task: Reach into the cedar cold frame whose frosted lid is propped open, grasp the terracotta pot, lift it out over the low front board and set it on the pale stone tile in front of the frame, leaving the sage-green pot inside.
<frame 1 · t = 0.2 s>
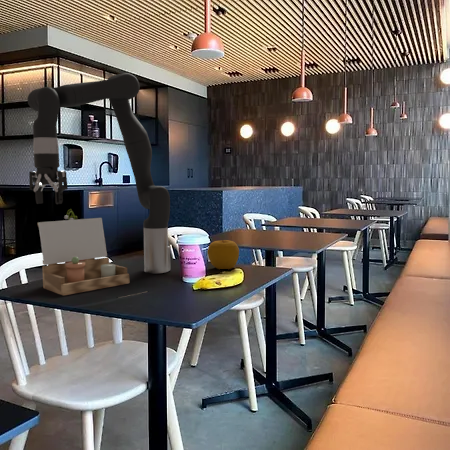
hand: (49, 203, 158), 28 cm above the table, fingers open, 8 cm apart
terracotta pot: (76, 287, 163), point 1 cm above the table, touching cold frame
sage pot: (108, 282, 170), point 1 cm above the table, touching cold frame
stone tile: (123, 292, 159), on the table
cold frame: (87, 287, 165), on the table
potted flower: (75, 274, 189), on the table
apple: (223, 268, 199), on the table
lid: (73, 240, 170), point 15 cm above the table, hinge at 102.3°
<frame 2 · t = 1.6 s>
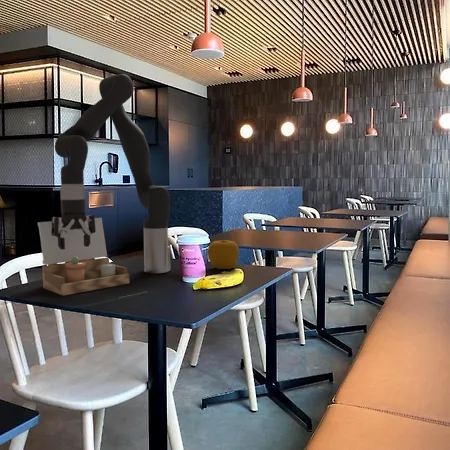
hand: (74, 247, 161), 14 cm above the table, fingers open, 8 cm apart
nothing on the table moved.
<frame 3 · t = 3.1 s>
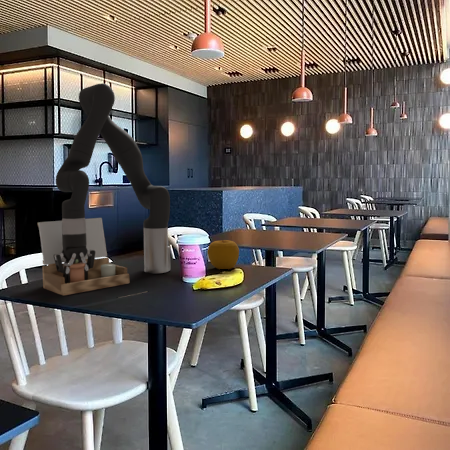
hand: (75, 282, 162), 2 cm above the table, fingers closed on terracotta pot, 5 cm apart
terracotta pot: (76, 287, 163), point 1 cm above the table, touching cold frame, gripper
everything else where it was.
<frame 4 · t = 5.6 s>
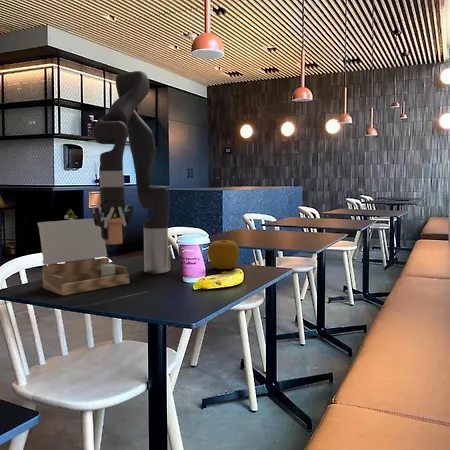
hand: (113, 238, 158), 17 cm above the table, fingers closed on terracotta pot, 5 cm apart
terracotta pot: (113, 243, 158), point 16 cm above the table, touching gripper
everything else where it was.
when the fingers open (4 cm above the table, at t = 8.4 s): terracotta pot drops 1 cm, point 1 cm above the table.
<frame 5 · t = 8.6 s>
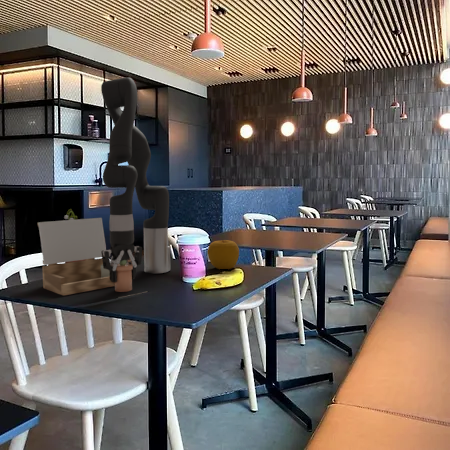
hand: (123, 280, 159), 4 cm above the table, fingers open, 6 cm apart
terracotta pot: (123, 289, 159), point 1 cm above the table, touching gripper
everything else where it was.
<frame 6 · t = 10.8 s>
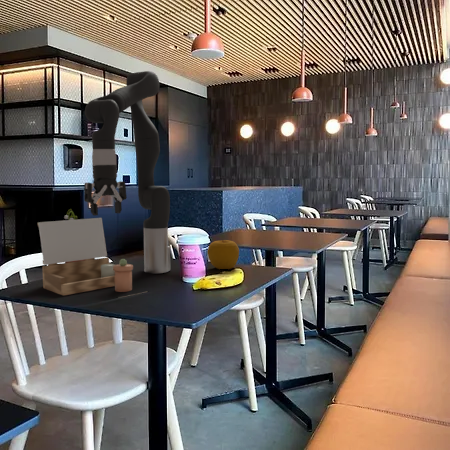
hand: (106, 214, 160), 25 cm above the table, fingers open, 8 cm apart
terracotta pot: (123, 290, 159), point 1 cm above the table, touching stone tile
everything else where it was.
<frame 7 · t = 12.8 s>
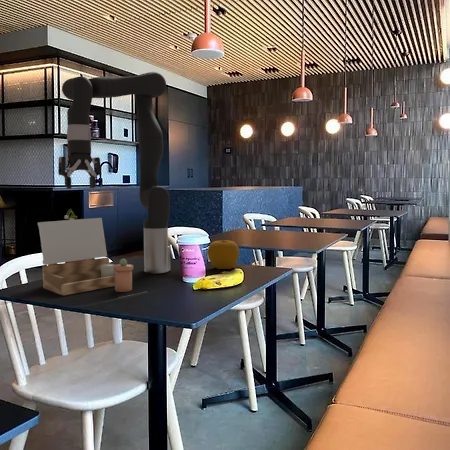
hand: (80, 188, 166), 33 cm above the table, fingers open, 8 cm apart
nothing on the table moved.
at the end: terracotta pot inside the target area (0.1 cm from its centre), point 0.6 cm above the table; terracotta pot tilted 1°; the gripper is holding nothing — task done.
